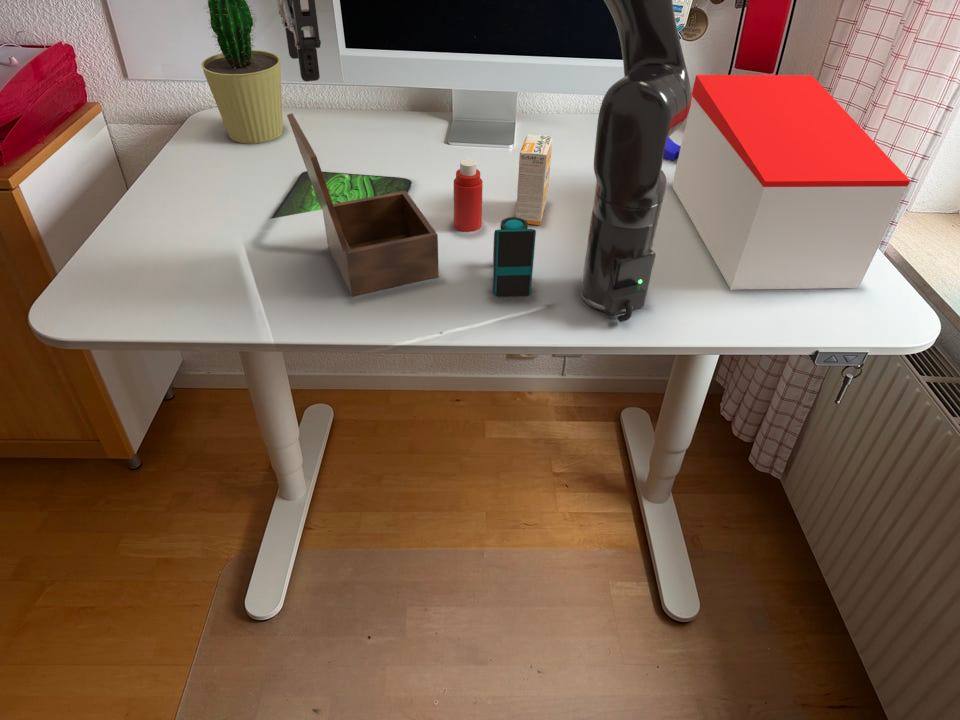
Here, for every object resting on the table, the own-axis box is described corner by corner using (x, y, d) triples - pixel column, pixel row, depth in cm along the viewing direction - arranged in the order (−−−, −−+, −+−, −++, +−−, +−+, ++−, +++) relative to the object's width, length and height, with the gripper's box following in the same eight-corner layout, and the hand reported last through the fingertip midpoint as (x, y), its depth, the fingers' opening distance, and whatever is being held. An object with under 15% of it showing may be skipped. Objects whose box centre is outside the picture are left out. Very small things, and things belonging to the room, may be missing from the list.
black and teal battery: (527, 196, 101) (536, 231, 93) (522, 263, 109) (530, 300, 101) (490, 196, 100) (496, 231, 93) (488, 264, 108) (493, 301, 101)
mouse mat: (382, 258, 109) (381, 253, 109) (252, 247, 111) (250, 242, 110) (413, 181, 130) (413, 177, 129) (303, 173, 131) (302, 168, 130)
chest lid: (292, 112, 94) (286, 114, 94) (316, 155, 84) (310, 157, 84) (323, 202, 104) (318, 203, 104) (348, 249, 94) (343, 251, 94)
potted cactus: (293, 145, 141) (265, -15, 121) (216, 150, 138) (175, -13, 118) (292, 116, 152) (267, -34, 132) (221, 121, 149) (184, -32, 129)
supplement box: (541, 226, 118) (548, 155, 109) (514, 223, 118) (518, 152, 110) (547, 204, 124) (554, 135, 115) (521, 201, 124) (526, 132, 116)
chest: (408, 235, 114) (405, 190, 109) (439, 281, 104) (437, 234, 99) (328, 251, 110) (321, 205, 105) (352, 301, 100) (346, 253, 95)
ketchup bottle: (485, 233, 116) (487, 166, 107) (460, 238, 114) (460, 171, 106) (475, 220, 119) (476, 154, 111) (449, 225, 117) (449, 158, 109)
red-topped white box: (774, 184, 131) (811, 74, 118) (858, 288, 105) (919, 163, 92) (670, 184, 130) (695, 74, 117) (729, 289, 104) (771, 163, 90)
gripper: (242, -91, 79) (266, 53, 90) (259, -66, 70) (284, 91, 81) (305, -92, 82) (322, 48, 92) (331, -69, 72) (345, 85, 83)
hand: (304, 68), depth 86 cm, fingers open, 8 cm apart
